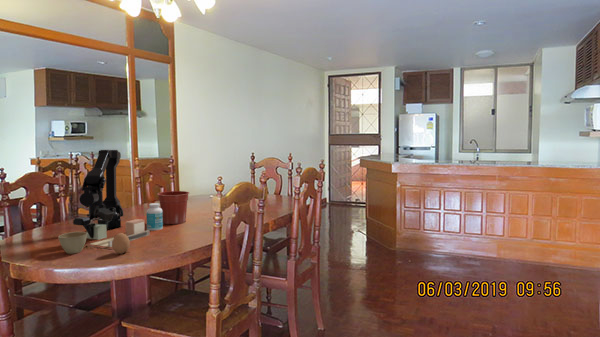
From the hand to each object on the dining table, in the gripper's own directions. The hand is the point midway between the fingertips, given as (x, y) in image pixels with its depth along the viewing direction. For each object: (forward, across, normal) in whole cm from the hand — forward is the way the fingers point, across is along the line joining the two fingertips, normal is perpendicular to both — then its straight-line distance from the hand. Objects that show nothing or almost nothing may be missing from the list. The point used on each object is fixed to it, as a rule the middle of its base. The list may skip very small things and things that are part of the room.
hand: (96, 236), depth 178 cm
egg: (+2, -11, -26) cm, 28 cm away
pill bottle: (+2, +24, -11) cm, 26 cm away
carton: (0, +9, -14) cm, 16 cm away
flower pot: (+2, +44, -6) cm, 44 cm away
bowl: (+2, -17, -7) cm, 18 cm away
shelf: (+2, +2, -12) cm, 12 cm away
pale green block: (+2, 0, 0) cm, 2 cm away
